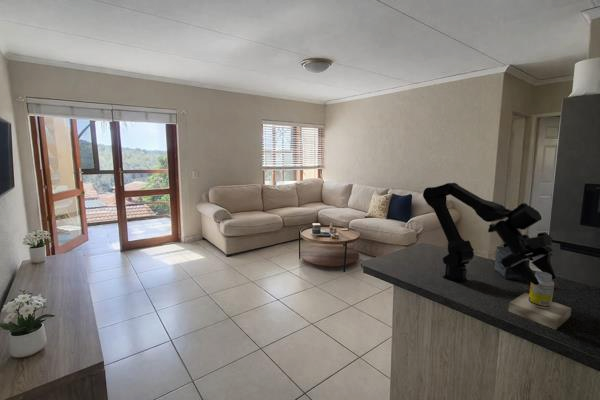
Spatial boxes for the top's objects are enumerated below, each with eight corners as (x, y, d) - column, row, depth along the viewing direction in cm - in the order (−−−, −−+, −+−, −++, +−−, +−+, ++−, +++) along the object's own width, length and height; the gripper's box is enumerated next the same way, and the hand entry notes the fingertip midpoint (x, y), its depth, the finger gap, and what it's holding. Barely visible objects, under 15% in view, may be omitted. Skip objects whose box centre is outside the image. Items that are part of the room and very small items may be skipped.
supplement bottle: (534, 299, 96) (538, 269, 95) (554, 307, 91) (559, 275, 90) (524, 302, 94) (528, 271, 92) (544, 311, 89) (549, 278, 87)
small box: (523, 280, 117) (526, 255, 115) (504, 279, 118) (507, 254, 117) (510, 270, 127) (513, 246, 126) (493, 269, 129) (495, 245, 127)
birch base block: (508, 311, 95) (509, 302, 94) (524, 300, 101) (525, 292, 101) (555, 329, 85) (557, 320, 84) (570, 317, 91) (571, 307, 91)
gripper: (515, 227, 89) (554, 276, 81) (549, 221, 97) (588, 265, 89) (486, 245, 97) (519, 291, 89) (520, 238, 105) (553, 280, 97)
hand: (546, 281), depth 91 cm, fingers open, 9 cm apart
